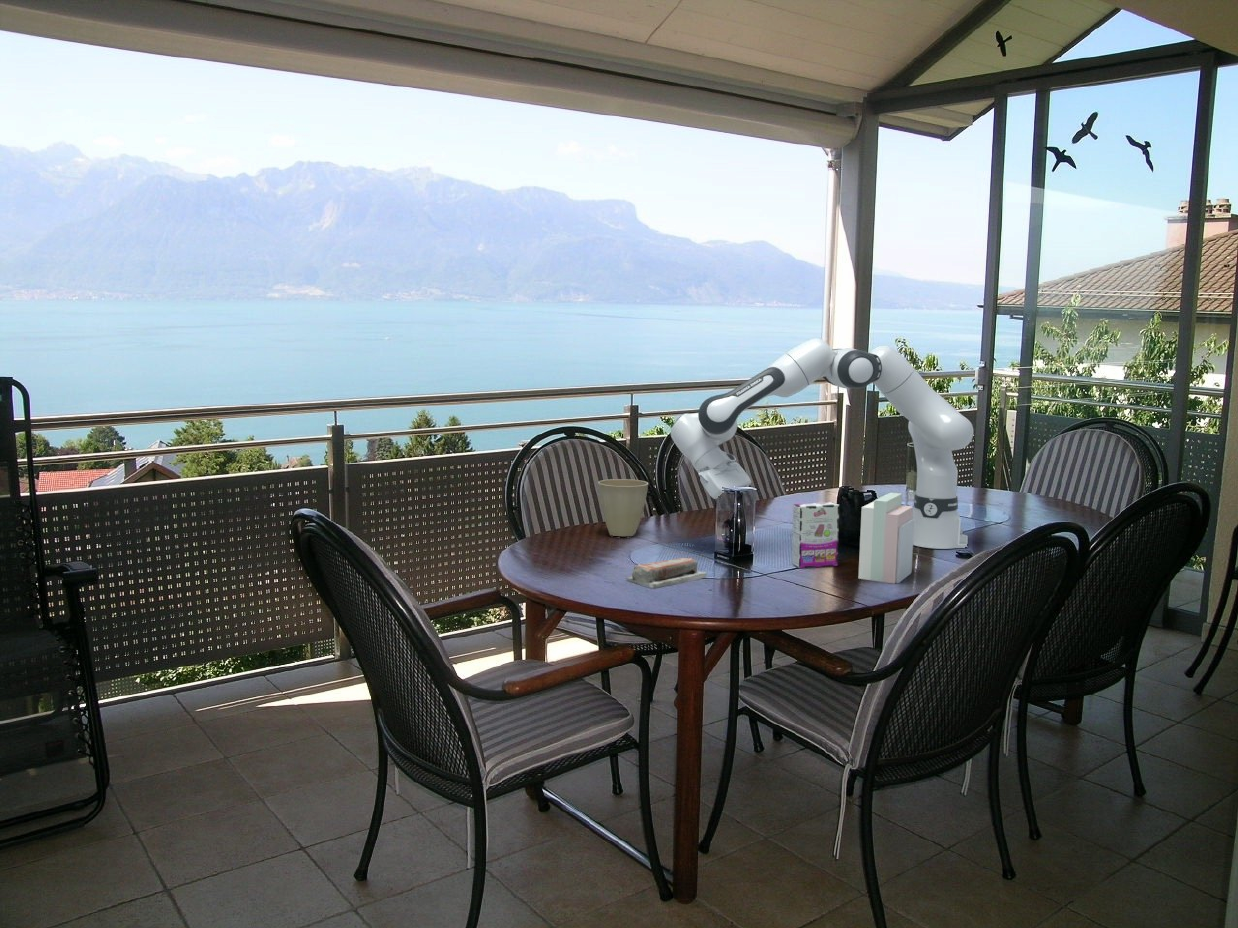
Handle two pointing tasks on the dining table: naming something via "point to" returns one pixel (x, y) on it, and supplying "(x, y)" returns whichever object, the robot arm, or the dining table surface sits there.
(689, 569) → the packaged product
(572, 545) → the dining table surface
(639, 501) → the plant pot
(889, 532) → the book row
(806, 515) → the candy bar box
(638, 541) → the dining table surface
